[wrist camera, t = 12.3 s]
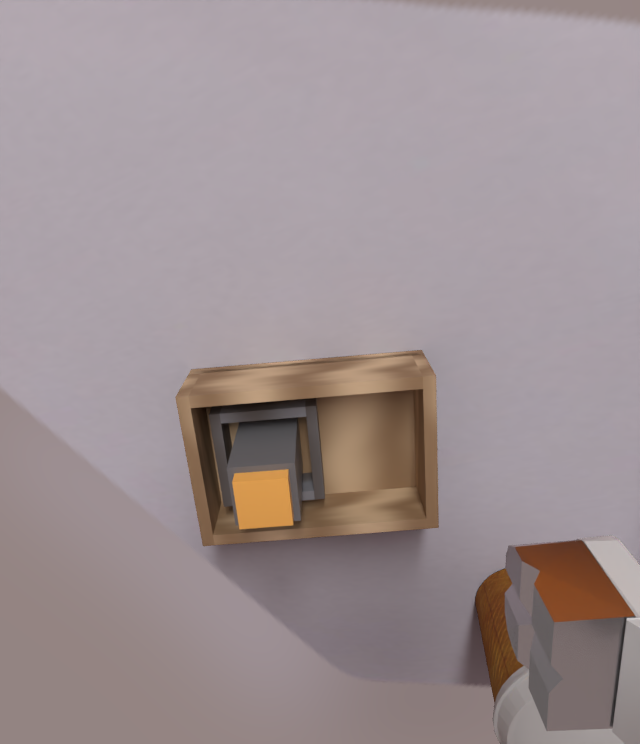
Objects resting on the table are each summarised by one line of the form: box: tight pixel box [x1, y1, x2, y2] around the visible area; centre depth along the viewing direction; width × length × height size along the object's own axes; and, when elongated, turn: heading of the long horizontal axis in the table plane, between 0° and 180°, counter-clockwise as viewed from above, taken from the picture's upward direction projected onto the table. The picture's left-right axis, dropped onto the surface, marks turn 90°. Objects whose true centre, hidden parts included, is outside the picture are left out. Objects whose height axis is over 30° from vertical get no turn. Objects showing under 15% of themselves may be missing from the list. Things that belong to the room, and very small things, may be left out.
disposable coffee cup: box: [475, 569, 625, 744], centre depth 42 cm, size 10×10×12 cm
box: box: [176, 350, 439, 546], centre depth 40 cm, size 16×11×5 cm
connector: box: [227, 417, 303, 529], centre depth 38 cm, size 4×4×8 cm
